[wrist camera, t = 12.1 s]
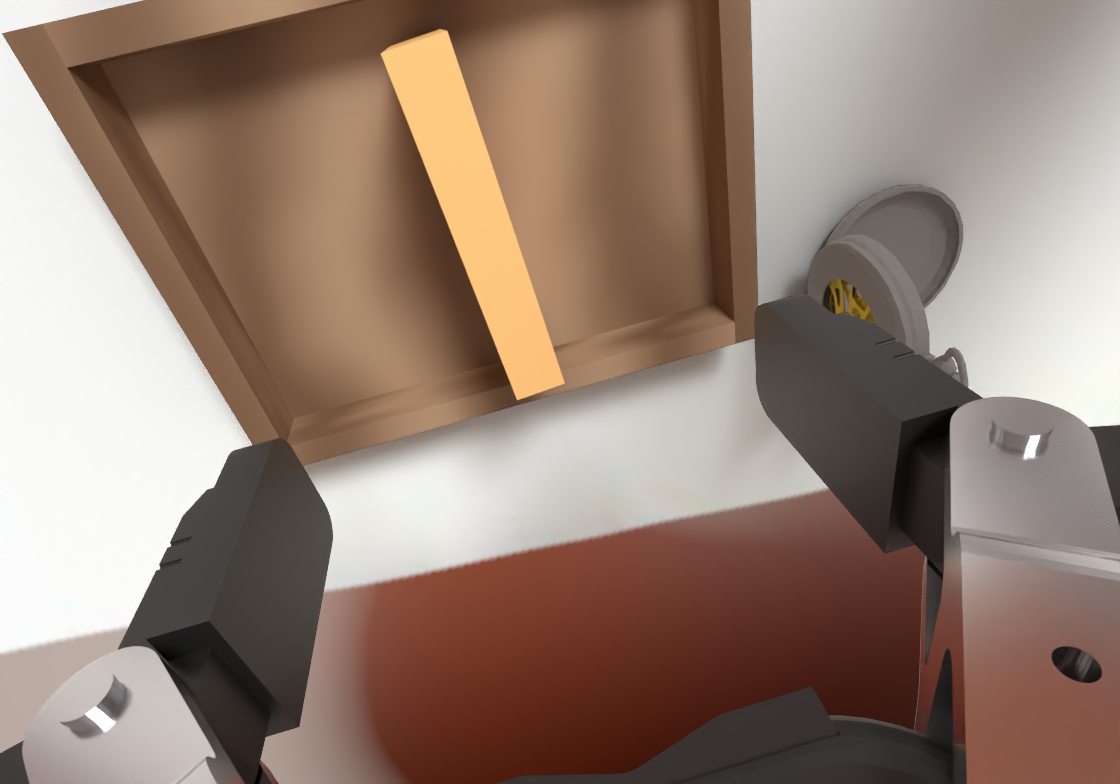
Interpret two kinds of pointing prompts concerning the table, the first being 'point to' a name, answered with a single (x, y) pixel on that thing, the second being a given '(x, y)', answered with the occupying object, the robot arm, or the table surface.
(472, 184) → the yellow rectangular block
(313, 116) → the tray
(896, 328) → the pocket watch
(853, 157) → the table surface
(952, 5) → the table surface
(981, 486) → the robot arm
